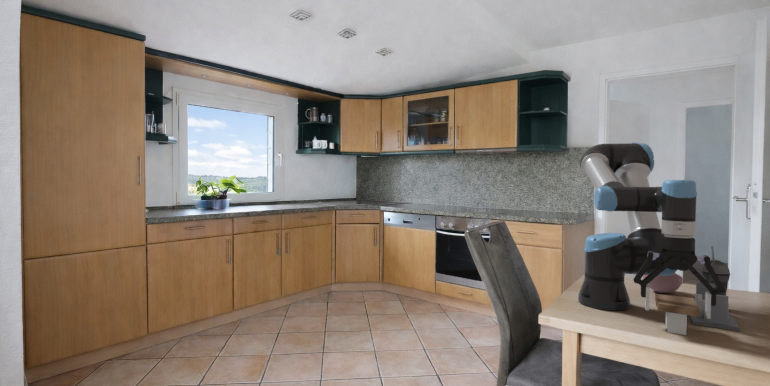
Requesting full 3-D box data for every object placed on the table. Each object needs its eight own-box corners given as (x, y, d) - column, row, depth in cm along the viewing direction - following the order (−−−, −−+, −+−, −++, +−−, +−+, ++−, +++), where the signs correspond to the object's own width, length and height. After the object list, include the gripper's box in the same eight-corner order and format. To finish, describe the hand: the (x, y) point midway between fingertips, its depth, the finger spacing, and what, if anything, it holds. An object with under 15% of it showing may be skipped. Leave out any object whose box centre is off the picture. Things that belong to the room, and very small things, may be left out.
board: (657, 310, 108) (658, 303, 108) (654, 300, 117) (655, 293, 117) (700, 316, 103) (700, 309, 103) (693, 305, 113) (693, 298, 113)
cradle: (693, 324, 114) (694, 293, 114) (685, 307, 129) (686, 280, 129) (739, 331, 109) (740, 298, 109) (725, 313, 124) (726, 284, 124)
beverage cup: (734, 312, 124) (737, 248, 124) (708, 311, 126) (710, 248, 125) (720, 305, 132) (722, 245, 131) (695, 304, 133) (697, 244, 132)
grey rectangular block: (667, 332, 108) (668, 310, 108) (665, 324, 114) (665, 303, 114) (686, 335, 106) (686, 312, 106) (682, 326, 112) (683, 305, 112)
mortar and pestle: (690, 296, 142) (691, 264, 142) (663, 298, 139) (664, 265, 139) (660, 287, 154) (661, 257, 153) (634, 289, 151) (635, 259, 151)
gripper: (625, 234, 113) (623, 309, 113) (741, 241, 100) (739, 325, 100) (624, 231, 119) (623, 302, 120) (734, 237, 106) (732, 316, 107)
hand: (676, 313), depth 110 cm, fingers open, 13 cm apart
